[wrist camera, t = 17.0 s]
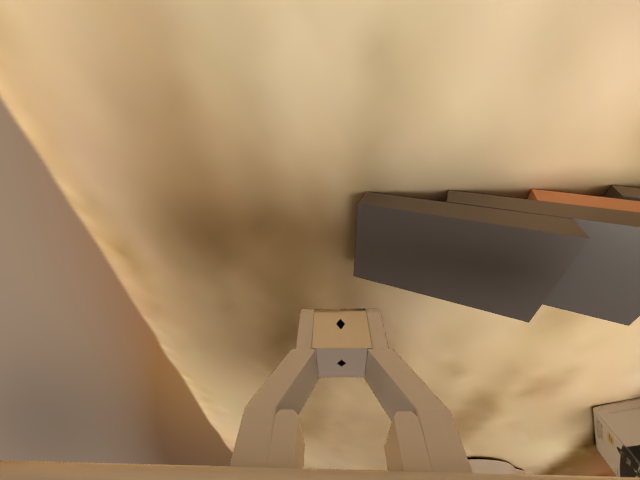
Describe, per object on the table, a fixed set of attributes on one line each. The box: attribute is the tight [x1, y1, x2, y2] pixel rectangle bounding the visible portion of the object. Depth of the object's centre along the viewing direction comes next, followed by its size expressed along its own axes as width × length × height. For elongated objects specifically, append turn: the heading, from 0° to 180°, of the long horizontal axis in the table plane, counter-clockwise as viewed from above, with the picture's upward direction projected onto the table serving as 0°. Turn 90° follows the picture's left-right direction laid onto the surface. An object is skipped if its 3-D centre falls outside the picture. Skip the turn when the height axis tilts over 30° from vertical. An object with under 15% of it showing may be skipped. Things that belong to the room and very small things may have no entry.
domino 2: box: [445, 190, 640, 326], centre depth 12 cm, size 2×5×9 cm
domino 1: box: [354, 192, 590, 322], centre depth 12 cm, size 2×5×9 cm
